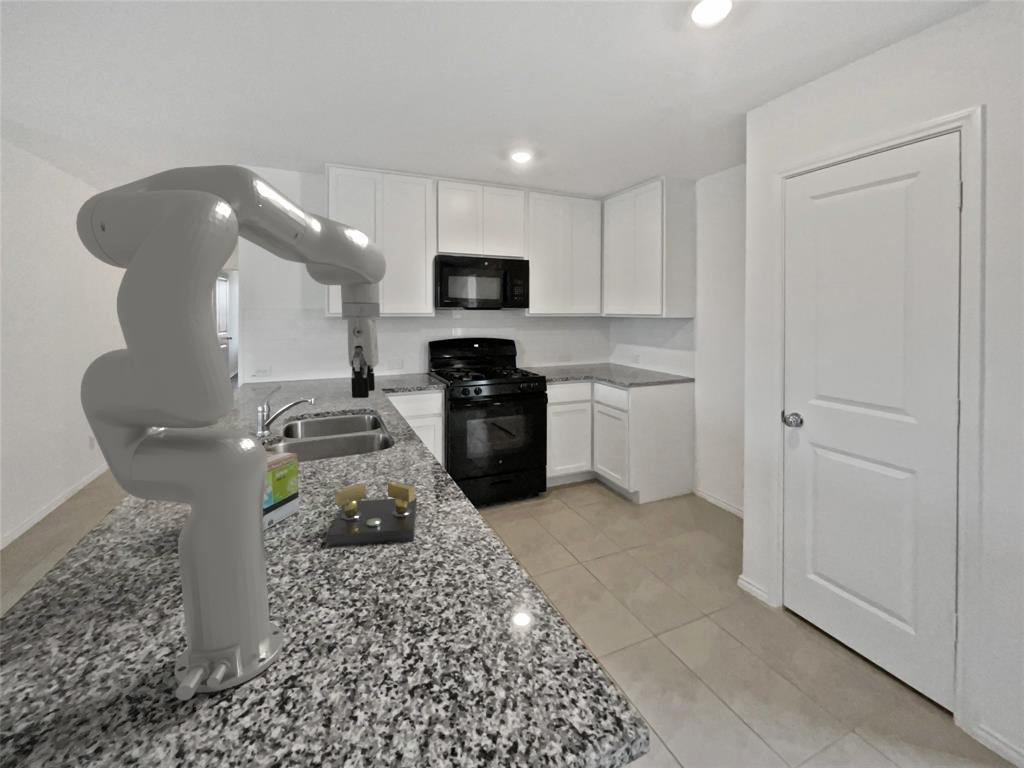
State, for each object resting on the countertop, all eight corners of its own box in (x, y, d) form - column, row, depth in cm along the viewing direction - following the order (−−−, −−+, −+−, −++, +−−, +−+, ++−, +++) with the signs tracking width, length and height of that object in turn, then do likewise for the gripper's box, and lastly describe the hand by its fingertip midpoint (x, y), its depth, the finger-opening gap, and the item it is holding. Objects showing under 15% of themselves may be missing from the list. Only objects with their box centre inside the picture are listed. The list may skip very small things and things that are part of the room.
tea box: (255, 538, 97) (250, 471, 95) (214, 534, 99) (209, 467, 97) (301, 510, 112) (297, 451, 110) (265, 507, 114) (261, 449, 112)
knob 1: (367, 511, 104) (366, 484, 104) (340, 519, 100) (339, 492, 99) (361, 508, 106) (360, 482, 105) (334, 516, 101) (333, 489, 101)
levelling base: (413, 540, 97) (413, 526, 96) (328, 546, 94) (328, 532, 94) (416, 507, 114) (416, 495, 114) (345, 511, 112) (344, 499, 111)
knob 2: (408, 515, 102) (407, 488, 101) (387, 509, 105) (386, 483, 104) (416, 511, 104) (415, 485, 103) (395, 505, 107) (394, 480, 107)
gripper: (374, 312, 88) (377, 400, 90) (383, 313, 105) (386, 388, 107) (333, 311, 87) (337, 401, 89) (349, 313, 104) (352, 388, 106)
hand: (364, 394), depth 98 cm, fingers open, 9 cm apart
